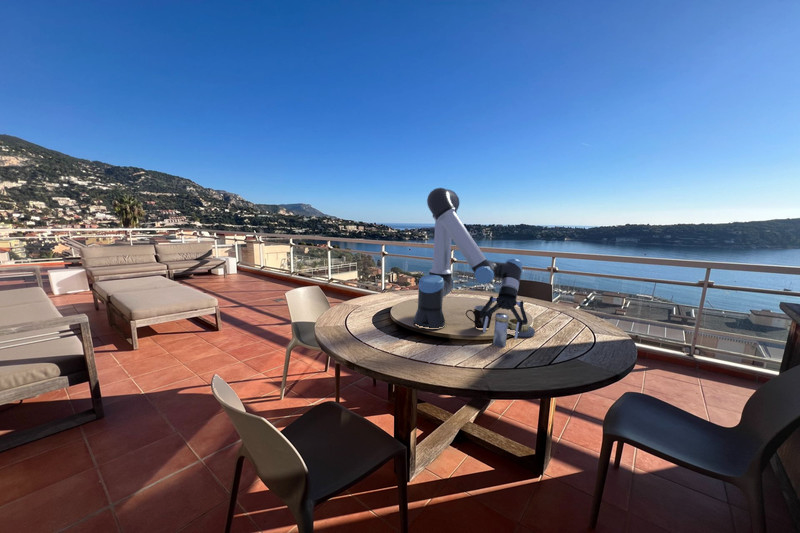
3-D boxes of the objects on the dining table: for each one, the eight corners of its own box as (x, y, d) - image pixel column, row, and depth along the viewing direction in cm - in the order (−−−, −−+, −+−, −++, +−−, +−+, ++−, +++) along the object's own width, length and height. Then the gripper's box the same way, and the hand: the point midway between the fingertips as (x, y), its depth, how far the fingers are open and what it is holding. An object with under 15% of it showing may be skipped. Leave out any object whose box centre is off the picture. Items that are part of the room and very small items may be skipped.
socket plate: (493, 326, 140) (494, 318, 140) (517, 323, 146) (518, 314, 145) (516, 339, 127) (517, 330, 126) (541, 335, 132) (543, 325, 132)
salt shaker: (490, 342, 123) (492, 313, 121) (500, 341, 125) (502, 312, 123) (498, 348, 118) (501, 318, 116) (508, 346, 120) (511, 316, 118)
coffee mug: (493, 327, 140) (495, 307, 138) (488, 333, 132) (490, 312, 131) (470, 322, 146) (471, 303, 144) (463, 327, 139) (465, 307, 137)
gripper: (538, 298, 126) (531, 345, 116) (482, 290, 137) (471, 332, 127) (538, 289, 120) (531, 337, 110) (480, 281, 132) (469, 324, 121)
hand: (499, 334), depth 118 cm, fingers open, 12 cm apart
